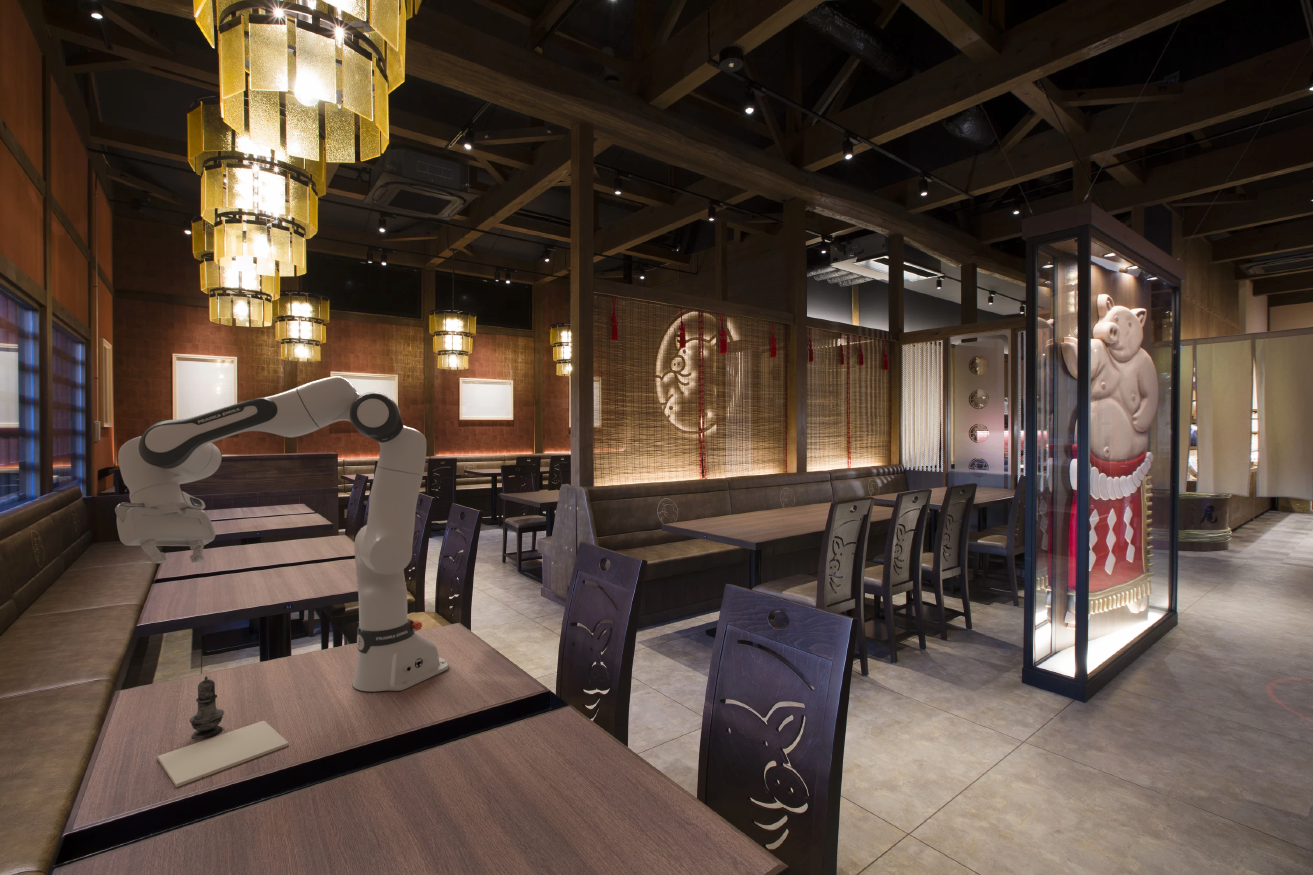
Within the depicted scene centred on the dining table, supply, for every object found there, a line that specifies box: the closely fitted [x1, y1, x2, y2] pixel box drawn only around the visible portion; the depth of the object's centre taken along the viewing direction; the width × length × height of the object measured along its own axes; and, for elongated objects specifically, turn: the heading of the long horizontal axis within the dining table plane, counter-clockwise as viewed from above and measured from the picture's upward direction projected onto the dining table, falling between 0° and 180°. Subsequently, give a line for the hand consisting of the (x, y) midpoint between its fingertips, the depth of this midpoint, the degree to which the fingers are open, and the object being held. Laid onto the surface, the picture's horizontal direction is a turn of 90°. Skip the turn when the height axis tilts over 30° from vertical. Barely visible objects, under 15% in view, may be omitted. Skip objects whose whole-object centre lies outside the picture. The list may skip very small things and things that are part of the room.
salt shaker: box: [188, 675, 225, 741], centre depth 126 cm, size 6×6×12 cm
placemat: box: [157, 720, 290, 788], centre depth 119 cm, size 18×14×1 cm
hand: (179, 561), depth 130 cm, fingers open, 8 cm apart
